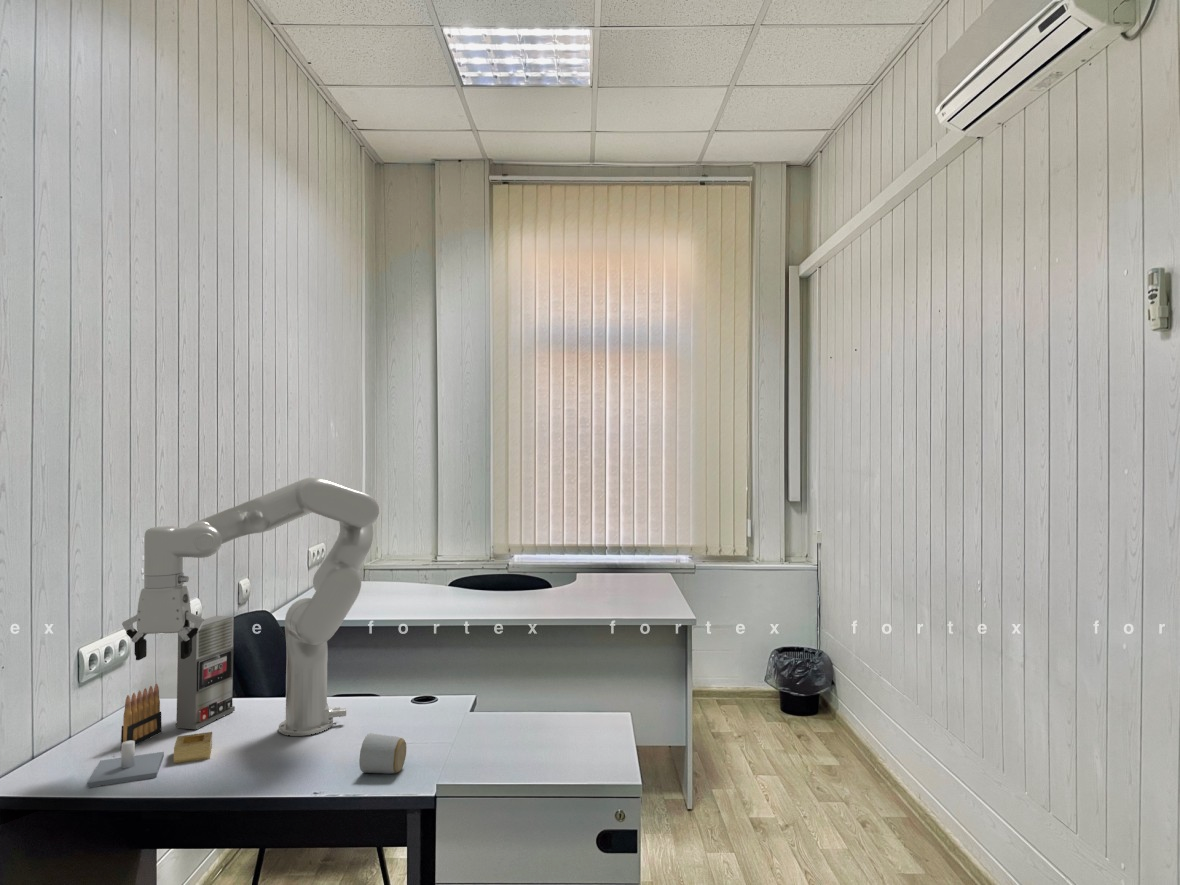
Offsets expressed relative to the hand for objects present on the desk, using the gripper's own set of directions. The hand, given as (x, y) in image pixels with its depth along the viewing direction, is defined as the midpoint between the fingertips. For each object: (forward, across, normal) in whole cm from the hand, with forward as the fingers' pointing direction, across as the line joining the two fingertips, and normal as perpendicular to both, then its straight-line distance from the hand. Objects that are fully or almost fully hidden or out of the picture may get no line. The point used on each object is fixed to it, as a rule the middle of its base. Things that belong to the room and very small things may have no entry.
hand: (163, 658), depth 163 cm
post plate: (+22, +3, +8) cm, 23 cm away
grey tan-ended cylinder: (+22, -51, +10) cm, 57 cm away
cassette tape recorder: (+22, +1, -23) cm, 32 cm away
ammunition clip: (+22, +10, -10) cm, 26 cm away
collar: (+22, -7, 0) cm, 23 cm away
